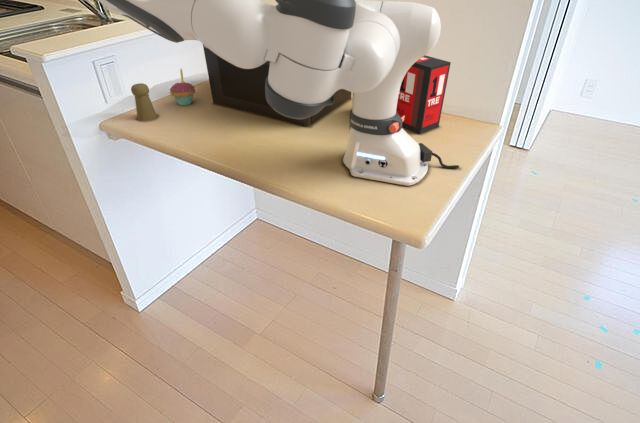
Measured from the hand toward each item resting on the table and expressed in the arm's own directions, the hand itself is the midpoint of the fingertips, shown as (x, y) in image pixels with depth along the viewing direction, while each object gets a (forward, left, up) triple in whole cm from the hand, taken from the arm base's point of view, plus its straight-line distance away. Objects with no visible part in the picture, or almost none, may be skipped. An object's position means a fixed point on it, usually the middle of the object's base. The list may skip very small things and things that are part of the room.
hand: (196, 8), depth 98 cm
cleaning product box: (-44, -42, -36) cm, 71 cm away
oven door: (+2, -21, -35) cm, 41 cm away
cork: (+32, -1, -36) cm, 48 cm away
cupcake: (+31, -17, -36) cm, 50 cm away
